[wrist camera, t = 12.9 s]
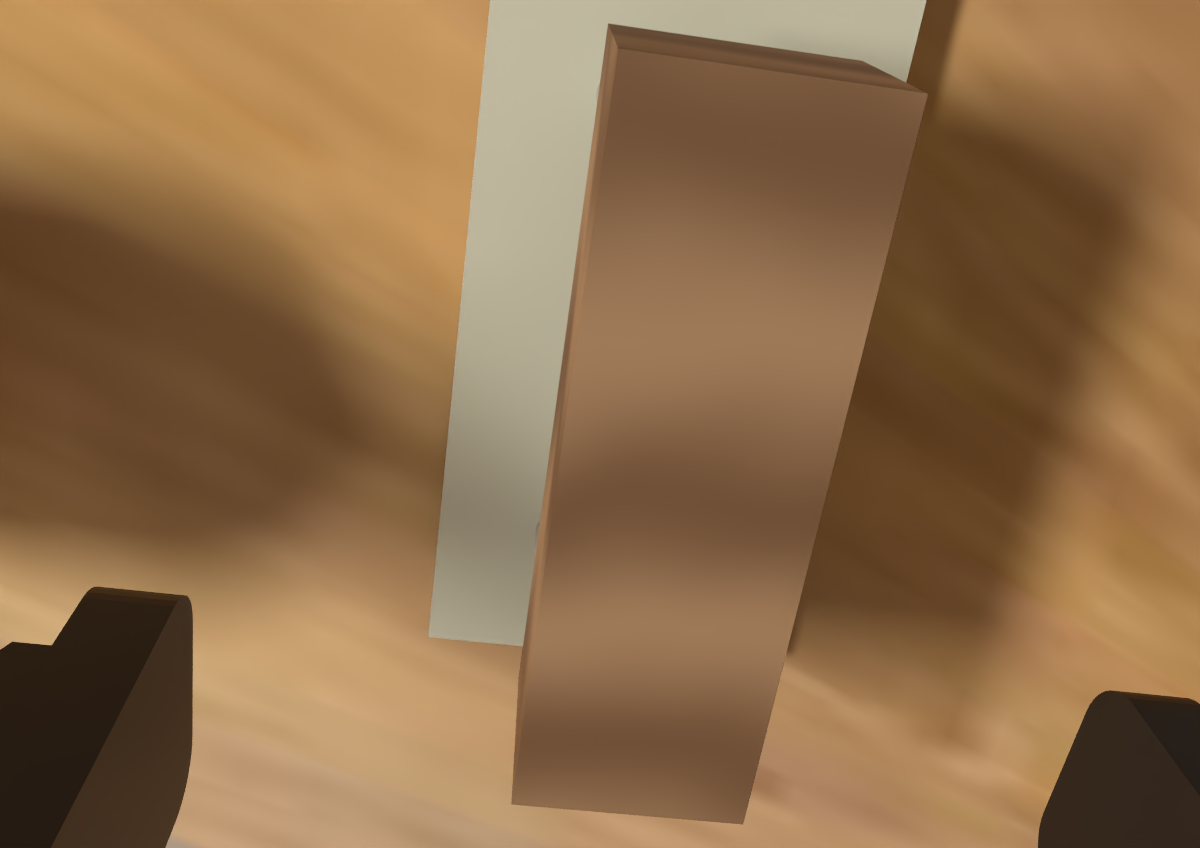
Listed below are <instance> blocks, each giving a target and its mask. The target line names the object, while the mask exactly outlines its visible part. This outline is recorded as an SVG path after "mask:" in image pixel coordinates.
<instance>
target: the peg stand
mask: <svg viewBox="0 0 1200 848" xmlns="http://www.w3.org/2000/svg"><path fill="white" fill-rule="evenodd" d="M926 1H927V0H490V8H489V19H488V29H487V39H486V49H485V60H484V70H483V80H482V90H481V101H480V111H479V121H478V131H477V142H476V152H475V162H474V172H473V183H472V193H471V203H470V214H469V224H468V234H467V244H466V255H465V265H464V275H463V285H462V296H461V306H460V316H459V326H458V337H457V347H456V357H455V368H454V378H453V388H452V398H451V409H450V419H449V429H448V439H447V450H446V460H445V470H444V480H443V491H442V501H441V511H440V522H439V532H438V542H437V552H436V563H435V573H434V583H433V593H432V604H431V614H430V624H429V634H428V637H434V638H444V639H453V640H463V641H473V642H483V643H493V644H503V645H513V646H523V643H524V635H525V628H526V621H527V613H528V606H529V599H530V591H531V584H532V577H533V569H534V562H535V555H536V547H537V540H538V533H539V525H540V518H541V511H542V504H543V496H544V489H545V482H546V474H547V467H548V460H549V452H550V445H551V438H552V430H553V423H554V416H555V408H556V401H557V394H558V386H559V379H560V372H561V364H562V357H563V350H564V342H565V335H566V328H567V320H568V313H569V306H570V299H571V291H572V284H573V277H574V269H575V262H576V255H577V247H578V240H579V233H580V225H581V218H582V211H583V203H584V196H585V189H586V181H587V174H588V167H589V159H590V152H591V145H592V137H593V130H594V123H595V115H596V108H597V101H598V93H599V86H600V79H601V72H602V64H603V57H604V50H605V42H606V35H607V28H608V23H609V24H616V25H623V26H629V27H636V28H643V29H650V30H657V31H663V32H670V33H677V34H684V35H691V36H697V37H704V38H711V39H718V40H725V41H731V42H738V43H745V44H752V45H759V46H765V47H772V48H779V49H786V50H792V51H799V52H806V53H813V54H820V55H826V56H833V57H840V58H847V59H854V60H860V61H864V62H866V63H868V64H870V65H872V66H874V67H876V68H878V69H880V70H882V71H884V72H886V73H888V74H890V75H892V76H894V77H896V78H898V79H900V80H902V81H904V82H907V78H908V73H909V69H910V65H911V61H912V57H913V53H914V49H915V45H916V41H917V37H918V33H919V29H920V25H921V21H922V17H923V13H924V9H925V5H926Z"/></svg>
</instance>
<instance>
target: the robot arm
mask: <svg viewBox="0 0 1200 848" xmlns="http://www.w3.org/2000/svg"><path fill="white" fill-rule="evenodd" d="M192 678H193V616H192V606H191V602H190V600H189V598H188V597H187V596H184V595H174V594H164V593H154V592H144V591H134V590H124V589H114V588H104V587H93V588H91V589H90V590H89V591H88V592H87V593H86V594H85V596H84V597H83V598H82V600H81V601H80V603H79V604H78V606H77V607H76V609H75V611H74V612H73V614H72V615H71V617H70V618H69V620H68V621H67V623H66V624H65V626H64V627H63V629H62V631H61V632H60V634H59V635H58V637H57V638H56V640H55V641H54V643H53V644H52V646H51V645H40V644H30V643H19V642H11V643H10V644H8V645H7V646H5V647H4V648H2V649H1V650H0V848H165V847H166V844H167V842H168V839H169V837H170V834H171V832H172V829H173V826H174V824H175V821H176V819H177V816H178V813H179V810H180V807H181V804H182V800H183V796H184V792H185V788H186V783H187V778H188V773H189V767H190V759H191V750H192ZM1038 848H1200V704H1199V703H1198V702H1196V701H1194V700H1192V699H1189V698H1180V697H1170V696H1160V695H1150V694H1140V693H1130V692H1120V691H1105V692H1103V693H1101V694H1099V695H1098V696H1097V697H1096V698H1095V699H1094V700H1093V701H1092V703H1091V704H1090V706H1089V708H1088V710H1087V712H1086V714H1085V716H1084V719H1083V721H1082V723H1081V726H1080V728H1079V730H1078V733H1077V735H1076V738H1075V740H1074V742H1073V745H1072V747H1071V749H1070V752H1069V754H1068V756H1067V759H1066V761H1065V764H1064V766H1063V768H1062V771H1061V773H1060V775H1059V778H1058V780H1057V782H1056V785H1055V787H1054V789H1053V792H1052V794H1051V797H1050V799H1049V801H1048V804H1047V806H1046V808H1045V811H1044V813H1043V816H1042V819H1041V823H1040V828H1039V837H1038Z"/></svg>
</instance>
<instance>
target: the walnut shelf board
mask: <svg viewBox="0 0 1200 848" xmlns="http://www.w3.org/2000/svg"><path fill="white" fill-rule="evenodd" d="M927 96H928V93H926V92H924V91H922V90H920V89H918V88H916V87H914V86H912V85H910V84H908V83H906V82H904V81H902V80H900V79H898V78H896V77H894V76H892V75H890V74H888V73H886V72H884V71H882V70H880V69H878V68H876V67H874V66H872V65H870V64H868V63H866V62H864V61H860V60H854V59H847V58H840V57H833V56H826V55H820V54H813V53H806V52H799V51H792V50H786V49H779V48H772V47H765V46H759V45H752V44H745V43H738V42H731V41H725V40H718V39H711V38H704V37H697V36H691V35H684V34H677V33H670V32H663V31H657V30H650V29H643V28H636V27H629V26H623V25H616V24H609V23H608V28H607V35H606V42H605V50H604V57H603V64H602V72H601V79H600V86H599V93H598V101H597V108H596V115H595V123H594V130H593V137H592V145H591V152H590V159H589V167H588V174H587V181H586V189H585V196H584V203H583V211H582V218H581V225H580V233H579V240H578V247H577V255H576V262H575V269H574V277H573V284H572V291H571V299H570V306H569V313H568V320H567V328H566V335H565V342H564V350H563V357H562V364H561V372H560V379H559V386H558V394H557V401H556V408H555V416H554V423H553V430H552V438H551V445H550V452H549V460H548V467H547V474H546V482H545V489H544V496H543V504H542V511H541V518H540V525H539V533H538V540H537V547H536V555H535V562H534V569H533V577H532V584H531V591H530V599H529V606H528V613H527V621H526V628H525V635H524V643H523V650H522V657H521V665H520V672H519V682H518V699H517V717H516V734H515V752H514V769H513V787H512V804H513V805H525V806H536V807H548V808H560V809H571V810H583V811H594V812H606V813H617V814H629V815H640V816H652V817H664V818H675V819H687V820H698V821H710V822H721V823H733V824H743V822H744V818H745V814H746V811H747V807H748V803H749V799H750V795H751V791H752V787H753V783H754V779H755V775H756V771H757V767H758V763H759V759H760V755H761V751H762V747H763V743H764V739H765V736H766V732H767V728H768V724H769V720H770V716H771V712H772V708H773V704H774V700H775V696H776V692H777V688H778V684H779V680H780V676H781V672H782V668H783V665H784V661H785V657H786V653H787V649H788V645H789V641H790V637H791V633H792V629H793V625H794V621H795V617H796V613H797V609H798V605H799V601H800V597H801V593H802V590H803V586H804V582H805V578H806V574H807V570H808V566H809V562H810V558H811V554H812V550H813V546H814V542H815V538H816V534H817V530H818V526H819V522H820V519H821V515H822V511H823V507H824V503H825V499H826V495H827V491H828V487H829V483H830V479H831V475H832V471H833V467H834V463H835V459H836V455H837V451H838V447H839V444H840V440H841V436H842V432H843V428H844V424H845V420H846V416H847V412H848V408H849V404H850V400H851V396H852V392H853V388H854V384H855V380H856V376H857V373H858V369H859V365H860V361H861V357H862V353H863V349H864V345H865V341H866V337H867V333H868V329H869V325H870V321H871V317H872V313H873V309H874V305H875V301H876V298H877V294H878V290H879V286H880V282H881V278H882V274H883V270H884V266H885V262H886V258H887V254H888V250H889V246H890V242H891V238H892V234H893V230H894V227H895V223H896V219H897V215H898V211H899V207H900V203H901V199H902V195H903V191H904V187H905V183H906V179H907V175H908V171H909V167H910V163H911V159H912V155H913V152H914V148H915V144H916V140H917V136H918V132H919V128H920V124H921V120H922V116H923V112H924V108H925V104H926V100H927Z"/></svg>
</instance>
